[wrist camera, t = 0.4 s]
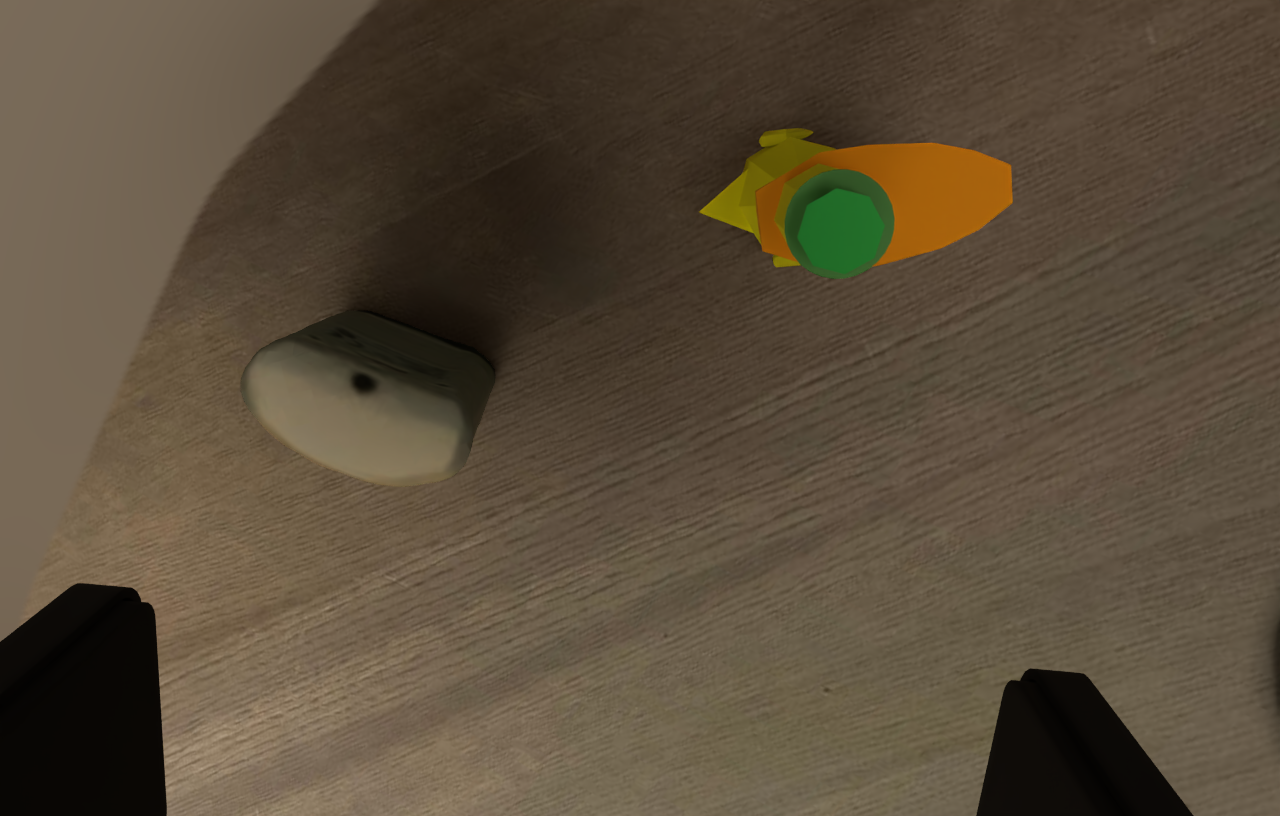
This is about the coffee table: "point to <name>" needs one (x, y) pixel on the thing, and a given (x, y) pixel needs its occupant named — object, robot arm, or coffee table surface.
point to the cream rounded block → (371, 398)
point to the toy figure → (860, 200)
